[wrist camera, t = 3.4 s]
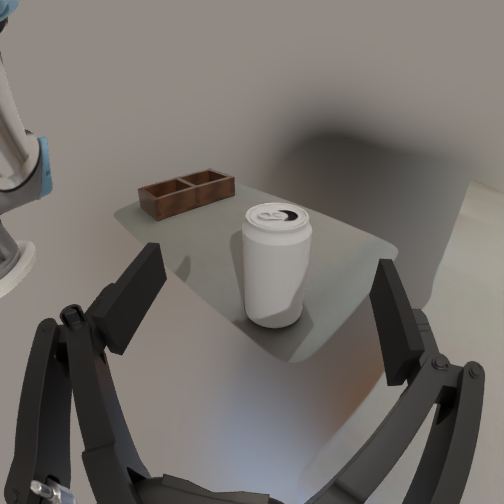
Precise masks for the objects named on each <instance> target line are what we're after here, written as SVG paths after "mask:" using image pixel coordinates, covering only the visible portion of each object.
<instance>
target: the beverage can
mask: <svg viewBox="0 0 504 504" xmlns="http://www.w3.org/2000/svg"><path fill="white" fill-rule="evenodd" d="M311 237H312V227H311V225H310V223H309V215H308V213H307V212H306V211H305V210H303V209H302V208H300V207H297V206H295V205H291V204H286V203H265V204H260V205H257V206H254V207H252V208H251V209H249V210H248V211H247V213H246V220H245V222H244V223H243V225H242V245H243V271H244V296H245V311H246V314H247V315H248V317H249V318H250V319H251V320H252V321H253V322H255V323H256V324H258V325H261V326H264V327H268V328H281V327H285V326H288V325H290V324H292V323H294V322H295V321H296V320H297V319H298V318H299V317H300V315H301V313H302V309H303V302H304V295H305V287H306V280H307V272H308V263H309V255H310V246H311Z"/></svg>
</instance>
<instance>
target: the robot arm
mask: <svg viewBox="0 0 504 504" xmlns="http://www.w3.org/2000/svg"><path fill="white" fill-rule="evenodd" d="M18 3H19V0H0V35H1V34H2V33H3V31H4V30H5V27H6V26H7V22H8V16H9V15H10V14H12V13H13V12H14V10H15V9H16V8H17V6H18ZM49 163H50V162H49V154H48V143H47V138H46V137H38V138H36V137H35V135H34V134H33V133H31V132H30V131H28V130H24V128H23V125H22V123H21V120H20V117H19V115H18V112H17V109H16V106H15V103H14V100H13V97H12V94H11V91H10V88H9V84H8V81H7V77H6V74H5V70H4V66H3V62H2V58H1V53H0V215H1V214H3V213H5V212H8V211H10V210H12V209H14V208H17V207H19V206H22V205H24V204H26V203H29V202H31V201H34V200H39V199H40V198H41V197H43V196H46V195H48V194H49V193H51V191H52V188H53V184H52V177H51V170H50V164H49ZM20 255H21V253H20V250H19V248H18V245H17V244H16V242H15V241H14V240H13V239H12V237H11V236H10V235H9V233H8V232H7V231H6V229H5V228H4V227H3V225H2V223H1V220H0V280H1V279H2V278H3V277H5V276H6V275H7V274H8V273H9V272H10V271H11V270H12V269H13V268H14V267H15V265H16V264H17V262H18V261H19V259H20ZM166 279H167V277H166V273H165V268H164V264H163V259H162V255H161V250H160V245H159V243H148V244H147V245H146V246H145V247H144V248H143V250H142V251H141V252H140V253H139V255H138V256H137V257H136V258H135V259H134V261H133V262H132V263H131V264H130V265H129V267H128V268H127V269H126V270H125V271H124V273H123V274H122V275H121V277H120V278H119V279H118V280H117V282H116V283H111V284H109V285H108V286H106V287H105V288H104V289H103V290H102V292H101V293H100V294H99V296H98V297H97V298H96V300H94V302H93V303H92V304H91V306H90V307H89V308H88V310H87V311H86V312H85V314H84V313H83V311H82V309H81V307H80V306H79V305H76V304H73V305H69V306H67V307H66V308H64V309H63V310H62V312H61V313H60V319H61V321H62V322H63V324H64V325H58V324H57V323H56V321H55V319H53V318H47V319H44V320H43V321H42V322H41V323H40V324H39V325H38V327H37V330H36V333H35V337H34V341H33V344H32V348H31V351H30V355H29V359H28V363H27V367H26V372H25V377H24V382H23V386H22V392H21V398H20V404H19V410H18V418H17V427H16V437H15V452H14V458H13V461H12V464H11V468H10V471H9V474H8V478H7V481H6V485H5V488H4V497H5V501H6V502H7V504H77V503H76V499H75V497H74V496H73V495H72V493H71V491H70V481H71V467H70V466H71V465H70V412H71V396H72V390H73V396H74V401H75V407H76V412H77V416H78V421H79V426H80V430H81V433H82V438H83V442H84V446H85V451H84V452H82V460H83V464H84V467H85V470H86V473H87V476H88V479H89V482H90V485H91V488H92V491H93V494H94V496H95V499H96V501H97V504H284V503H282V502H281V501H278V500H276V499H273V498H270V497H269V494H260V493H251V492H243V491H241V492H220V493H218V492H217V493H215V492H211V491H209V490H207V489H204V488H202V487H200V486H198V485H196V484H194V483H192V482H190V481H188V480H184V479H181V478H177V477H173V476H170V475H167V474H163V477H153V478H151V476H150V474H149V472H148V470H147V469H146V468H145V466H144V465H143V463H142V462H141V460H140V458H139V456H138V453H137V451H136V448H135V446H134V443H133V441H132V438H131V435H130V433H129V430H128V428H127V425H126V422H125V419H124V416H123V413H122V410H121V407H120V404H119V401H118V398H117V394H116V391H115V387H114V384H113V381H112V377H111V373H110V369H109V366H108V361H107V357H106V353H105V352H104V349H105V347H106V345H107V347H108V348H109V350H110V352H112V353H115V354H119V355H123V353H124V351H125V349H126V348H127V345H128V344H129V342H130V340H131V339H132V337H133V335H134V333H135V332H136V330H137V328H138V326H139V325H140V323H141V321H142V320H143V318H144V316H145V314H146V312H147V311H148V309H149V308H150V306H151V304H152V302H153V301H154V299H155V298H156V296H157V294H158V293H159V291H160V289H161V288H162V286H163V285H164V283H165V281H166ZM369 296H370V300H371V304H372V308H373V313H374V317H375V321H376V326H377V330H378V335H379V340H380V345H381V350H382V355H383V361H384V367H385V372H386V379H387V385H388V386H398V385H402V384H403V383H404V381H405V380H406V379H407V383H408V386H407V387H406V389H405V390H404V391H403V393H402V394H401V395H400V398H399V399H398V401H397V402H396V404H395V405H394V406H393V408H392V409H391V411H390V412H389V413H388V415H387V416H386V417H385V419H384V420H383V421H382V423H381V424H380V425H379V427H378V428H377V429H376V430H375V432H374V433H373V434H372V435H371V437H370V438H369V439H368V440H367V441H366V443H365V444H364V445H363V446H362V447H361V448H360V450H359V451H358V452H357V453H356V454H355V455H354V456H353V458H352V459H351V460H350V461H349V462H348V463H347V464H346V465H345V466H344V467H343V468H342V469H341V470H340V471H339V472H338V473H337V474H336V475H335V476H334V477H333V478H332V479H331V480H330V481H329V482H328V483H327V484H326V485H325V486H324V487H323V488H322V489H321V490H320V491H319V492H318V493H316V494H315V495H314V496H313V497H312V498H310V499H309V500H308V501H307V502H306V503H304V504H364V502H365V501H366V500H367V498H368V497H369V496H370V495H371V494H372V493H373V492H374V490H375V489H376V488H377V487H378V486H379V484H380V483H381V482H382V481H383V479H384V478H385V477H386V476H387V474H388V473H389V472H390V471H391V469H392V468H393V467H394V465H395V464H396V462H397V461H398V460H399V458H400V457H401V456H402V454H403V453H404V451H405V450H406V448H407V447H408V445H409V444H410V442H411V441H412V439H413V438H414V436H415V435H416V433H417V431H418V430H419V428H420V427H421V425H422V423H423V421H424V420H425V418H426V416H427V415H428V413H429V411H430V409H431V407H432V406H433V404H434V403H436V404H437V408H436V412H435V416H434V419H433V423H432V426H431V430H430V433H429V436H428V440H427V443H426V446H425V449H424V452H423V455H422V457H421V460H420V463H419V465H418V468H417V471H416V473H415V476H414V478H413V480H412V483H411V485H410V487H409V490H408V492H407V494H406V496H405V498H404V501H403V503H402V504H459V503H460V500H461V498H462V495H463V492H464V489H465V485H466V482H467V479H468V476H469V472H470V468H471V464H472V461H473V456H474V452H475V448H476V443H477V438H478V432H479V426H480V420H481V413H482V405H483V395H484V383H485V372H484V369H483V367H482V366H481V365H480V364H479V363H477V362H474V361H470V362H468V363H467V364H466V365H465V366H464V367H460V366H456V365H452V364H450V362H449V360H448V358H447V357H445V356H444V355H443V354H440V353H439V350H438V347H437V344H436V341H435V338H434V336H433V333H432V331H431V327H430V325H429V322H428V319H427V317H426V315H425V314H424V313H423V312H422V311H421V309H412V308H411V306H410V303H409V301H408V298H407V295H406V293H405V290H404V288H403V285H402V283H401V280H400V278H399V275H398V273H397V271H396V269H395V266H394V264H393V261H392V259H380V260H379V264H378V267H377V271H376V275H375V278H374V282H373V285H372V288H371V292H370V295H369Z"/></svg>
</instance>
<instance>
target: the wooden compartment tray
mask: <svg viewBox="0 0 504 504" xmlns="http://www.w3.org/2000/svg"><path fill="white" fill-rule="evenodd" d="M138 193H139V199H140V205H141V207H142V208H143V209H144V210H145V211H146V212H147V213H149V214H150V215H151V216H152V217H153V218H155V219H156V220H157V221H159V220H162V219H165V218H168V217H170V216H173V215H176V214H179V213H182V212H185V211H188V210H191V209H194V208H197V207H200V206H203V205H206V204H209V203H212V202H215V201H218V200H221V199H225V198H228V197H231V196H234V195H235V183H234V177H232V176H230V175H227V174H224V173H221V172H218V171H215V170H212V169H207V170H203V171H199V172H195V173H191V174H187V175H184V176H180V177H176V178H173V179H169V180H165V181H162V182H158V183H155V184H152V185H149V186H145V187H142V188H139V189H138Z"/></svg>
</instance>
